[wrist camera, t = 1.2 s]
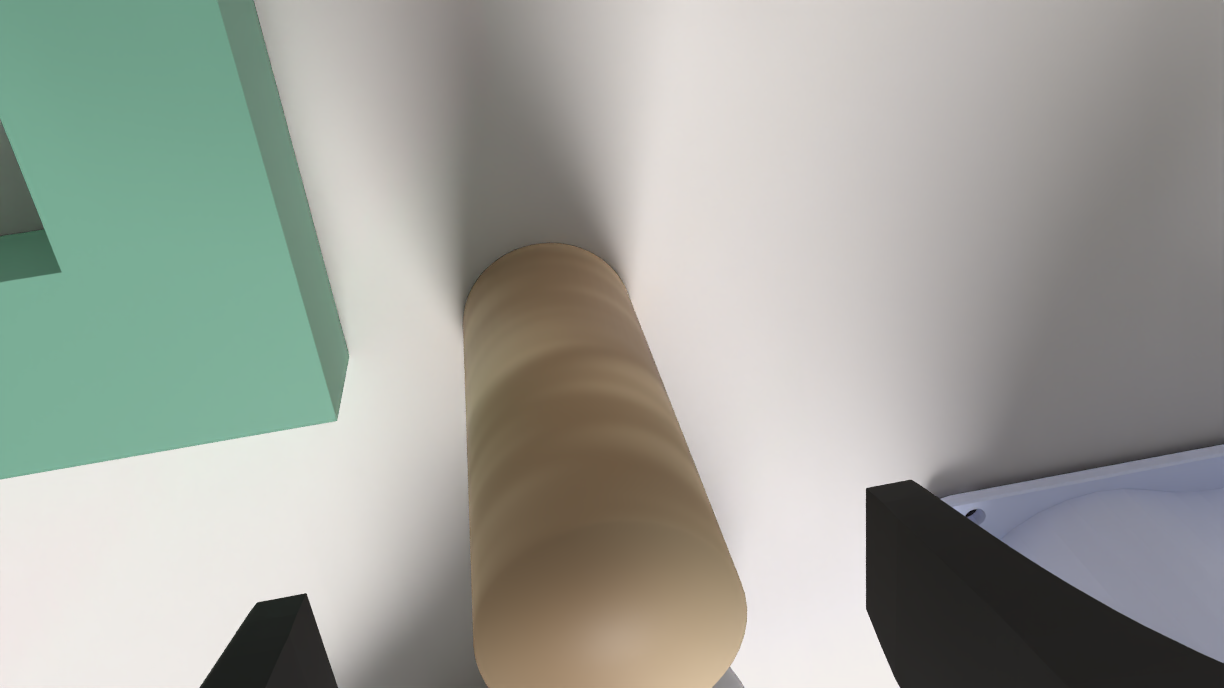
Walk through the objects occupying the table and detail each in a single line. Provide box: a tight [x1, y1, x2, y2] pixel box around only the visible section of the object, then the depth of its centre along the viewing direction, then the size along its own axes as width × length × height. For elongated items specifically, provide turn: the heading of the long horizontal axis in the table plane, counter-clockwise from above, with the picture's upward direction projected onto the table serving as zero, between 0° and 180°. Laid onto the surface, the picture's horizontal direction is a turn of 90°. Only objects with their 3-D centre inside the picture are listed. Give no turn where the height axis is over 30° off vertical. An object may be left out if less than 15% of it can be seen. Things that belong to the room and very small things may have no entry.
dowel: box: [463, 243, 747, 688], centre depth 17 cm, size 3×3×9 cm
